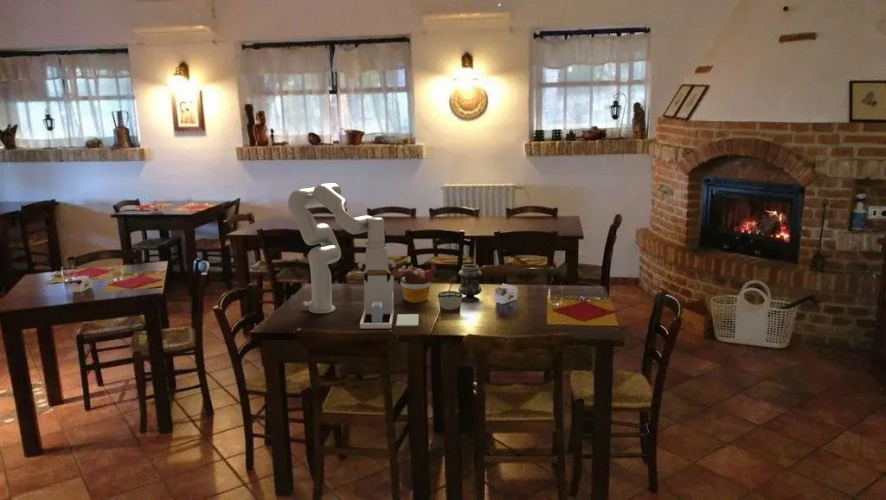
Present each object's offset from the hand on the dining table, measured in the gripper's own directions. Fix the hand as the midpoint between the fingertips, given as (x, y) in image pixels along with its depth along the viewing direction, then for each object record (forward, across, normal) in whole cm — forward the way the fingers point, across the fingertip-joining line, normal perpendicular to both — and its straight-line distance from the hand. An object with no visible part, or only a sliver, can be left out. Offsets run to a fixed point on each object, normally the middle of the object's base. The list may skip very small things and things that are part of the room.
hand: (377, 281), depth 312 cm
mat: (+19, +14, 0) cm, 23 cm away
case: (+19, -1, +2) cm, 19 cm away
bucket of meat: (+19, +18, +34) cm, 43 cm away
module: (+19, 0, 0) cm, 19 cm away
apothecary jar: (+19, +44, +34) cm, 59 cm away
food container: (+19, +34, +13) cm, 41 cm away
